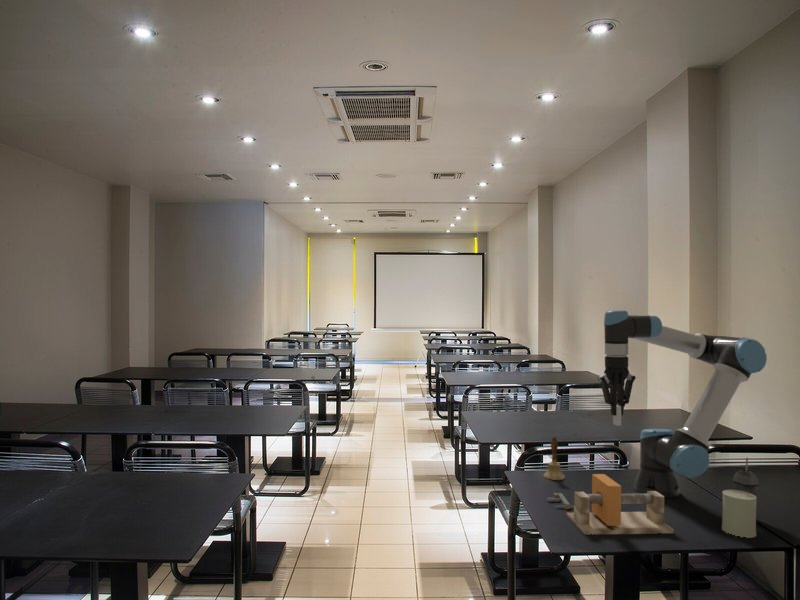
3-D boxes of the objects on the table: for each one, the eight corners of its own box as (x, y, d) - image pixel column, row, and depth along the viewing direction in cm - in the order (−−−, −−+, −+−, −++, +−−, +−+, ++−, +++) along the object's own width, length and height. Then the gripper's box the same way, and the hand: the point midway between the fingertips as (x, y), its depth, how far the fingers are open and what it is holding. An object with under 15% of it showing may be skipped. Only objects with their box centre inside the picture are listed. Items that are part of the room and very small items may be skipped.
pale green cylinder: (756, 540, 169) (757, 500, 169) (720, 533, 173) (721, 494, 173) (756, 530, 176) (757, 491, 176) (722, 523, 181) (722, 486, 181)
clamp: (545, 492, 203) (573, 493, 202) (545, 498, 203) (573, 499, 202) (555, 507, 188) (585, 508, 187) (554, 514, 188) (585, 515, 187)
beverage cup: (754, 515, 189) (755, 455, 189) (760, 523, 182) (762, 460, 182) (730, 512, 191) (731, 452, 191) (735, 519, 184) (736, 458, 184)
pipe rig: (648, 514, 188) (649, 485, 188) (674, 533, 173) (674, 501, 173) (566, 515, 186) (566, 486, 186) (584, 534, 171) (585, 502, 171)
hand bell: (544, 479, 223) (545, 439, 223) (542, 473, 231) (543, 434, 231) (566, 481, 222) (566, 440, 222) (563, 474, 230) (564, 435, 230)
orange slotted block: (603, 510, 185) (604, 474, 185) (620, 525, 173) (621, 486, 173) (591, 510, 185) (592, 474, 185) (607, 525, 173) (608, 486, 173)
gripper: (628, 354, 198) (628, 421, 199) (593, 355, 197) (593, 423, 197) (640, 356, 191) (641, 426, 191) (604, 357, 189) (604, 428, 189)
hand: (617, 424), depth 194 cm, fingers closed
